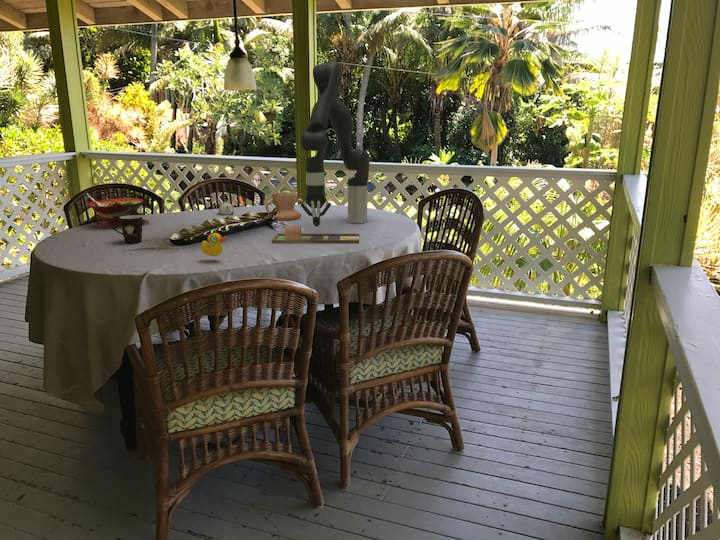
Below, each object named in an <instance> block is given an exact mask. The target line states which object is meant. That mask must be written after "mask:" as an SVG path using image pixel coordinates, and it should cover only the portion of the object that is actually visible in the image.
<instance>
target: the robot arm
mask: <svg viewBox="0 0 720 540" xmlns="http://www.w3.org/2000/svg"><path fill="white" fill-rule="evenodd" d="M312 77H313V81H314V84H315V86H316V88H317V90H318V93H319V94H320V97H319V98H318V99H317V101H316V102H315V103H314V105H313V107H312V109H311V113H310V118H309V122H308V124H307V125H306V126H305V129H304V131H303V132H302V134H301V138H300V146H301V148H302V150H303V151H306V152H307V151H308V152H311V151H312V152H316V153H315V155H314V156H309V157H307V158H306V159H305V190H306V191H305V193H306V194H305V196H306V197H305V198H304V199H305V200H304V201H302V202H301V203H300V208H302V209H303V211H305V213H306V214H307V215H308V216H309V217H312V224H313V226H314V227H319V226H320V224H321V217H323V216H324V215H325V214H326V212H327V211H328V210H329V209H330V207H331V206H332V203H331V202H329V201H327V197H326V191H325V189H326V186H325V185H326V183H325V182H326V180H325V167H324V165H325V164H324V162H325V161H324V159H325V156H326V151H327V148H328V137H327V135H326V134H325V133H324V131H325V130H326V129H327V125H328V122H329V120H330V123H331V127H332V129H333V131H334V134H335V137H336V140H337V143H338V146H339V150H340V153H341V158H342V161H343V165H344V167H345V168H346V169H347V170H349V171H356V174H355V176H353V177H350V178H348V179H347V223H350V224H366V223H367V222H368V181H369V173H370V155H369V153H368V151H367V150H361V149H353V147H352V144H351V136H352V134H353V130H354V120H353V118H352V115H351V111H350V109H349V108H348V107H347V105H346V104H345V103H344V102H342V101H341V99H339V98H338V97H337V94H338V91H339V88H340V86H341V82H342V80H343V79H342V78H343V71H342V68H341V65H339V63H338V62H327V63H320V64H316V65H314V67H313V68H312ZM307 206H308V207H309V208H310V209H311V210H310V209H309V208H308V207H307ZM323 206H324V209H323V210H322V211H321V208H323Z"/></svg>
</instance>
